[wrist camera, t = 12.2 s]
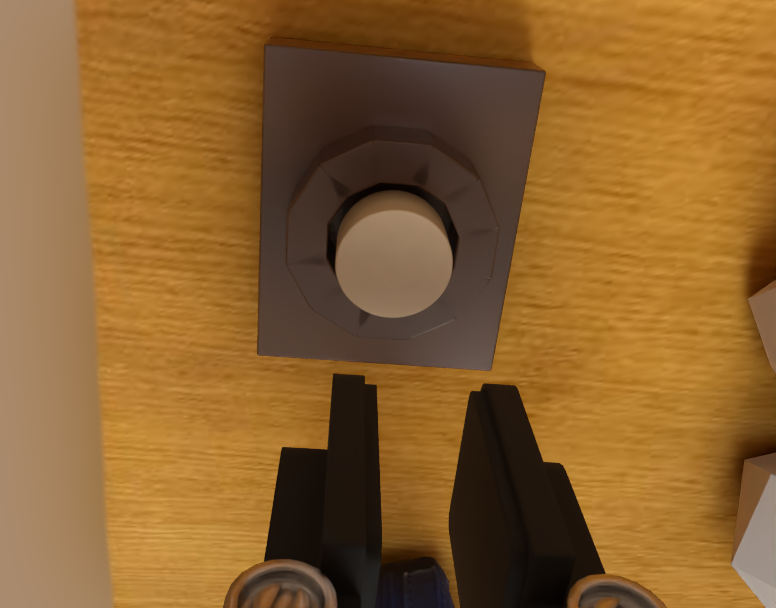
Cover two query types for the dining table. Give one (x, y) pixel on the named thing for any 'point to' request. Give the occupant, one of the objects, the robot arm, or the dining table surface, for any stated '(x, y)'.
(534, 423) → the dining table surface
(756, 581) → the rock
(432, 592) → the blue zipper case
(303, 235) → the lamp base
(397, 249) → the button
